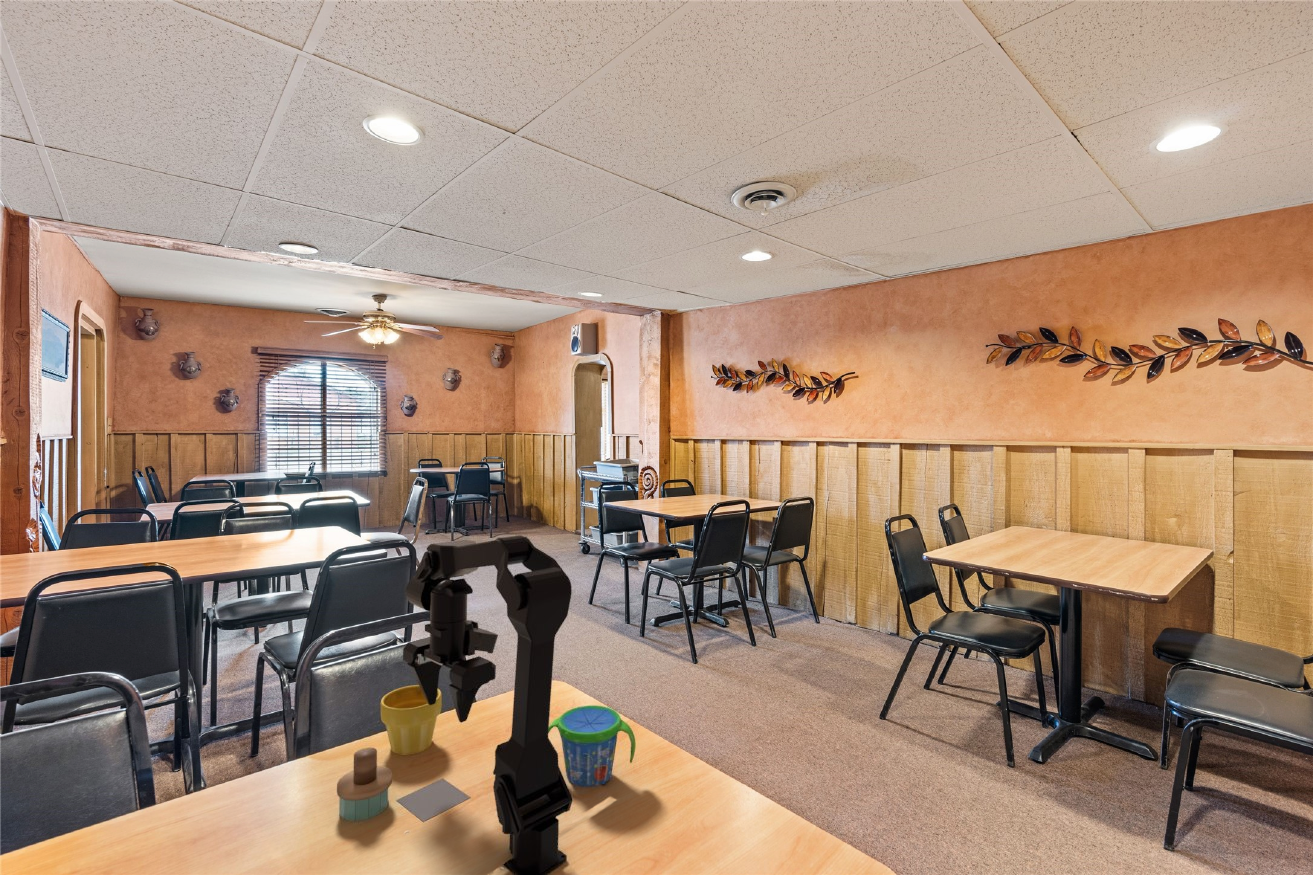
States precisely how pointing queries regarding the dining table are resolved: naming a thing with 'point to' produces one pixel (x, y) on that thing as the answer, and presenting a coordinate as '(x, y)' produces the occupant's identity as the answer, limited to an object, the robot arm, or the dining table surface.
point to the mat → (433, 799)
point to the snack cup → (590, 743)
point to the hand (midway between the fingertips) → (447, 712)
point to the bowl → (363, 807)
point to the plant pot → (409, 719)
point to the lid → (364, 777)
